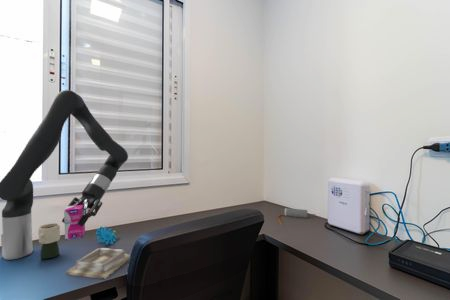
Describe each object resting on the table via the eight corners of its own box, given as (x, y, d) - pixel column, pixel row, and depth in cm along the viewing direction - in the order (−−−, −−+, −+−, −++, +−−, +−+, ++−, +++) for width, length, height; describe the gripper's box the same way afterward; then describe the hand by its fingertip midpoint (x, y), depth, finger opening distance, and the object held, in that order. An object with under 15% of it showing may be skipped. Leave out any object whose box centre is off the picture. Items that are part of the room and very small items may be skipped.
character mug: (50, 250, 102) (49, 221, 101) (67, 250, 102) (66, 221, 102) (30, 263, 91) (29, 230, 91) (49, 263, 91) (48, 230, 91)
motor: (279, 213, 153) (279, 206, 152) (315, 216, 145) (315, 209, 144) (274, 231, 132) (274, 223, 131) (316, 236, 124) (316, 228, 123)
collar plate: (66, 274, 83) (65, 264, 83) (98, 253, 99) (98, 245, 99) (105, 279, 80) (105, 269, 80) (132, 256, 96) (132, 248, 96)
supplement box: (64, 241, 85) (63, 210, 84) (68, 235, 90) (66, 206, 90) (83, 238, 87) (81, 207, 86) (85, 232, 92) (84, 204, 92)
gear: (104, 245, 103) (93, 227, 105) (96, 254, 103) (85, 236, 106) (122, 239, 113) (111, 223, 116) (114, 247, 114) (104, 230, 117)
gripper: (78, 181, 97) (51, 217, 87) (104, 183, 92) (78, 221, 82) (90, 191, 102) (66, 226, 92) (115, 193, 97) (92, 230, 87)
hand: (71, 224), depth 87 cm, fingers closed on supplement box, 8 cm apart
